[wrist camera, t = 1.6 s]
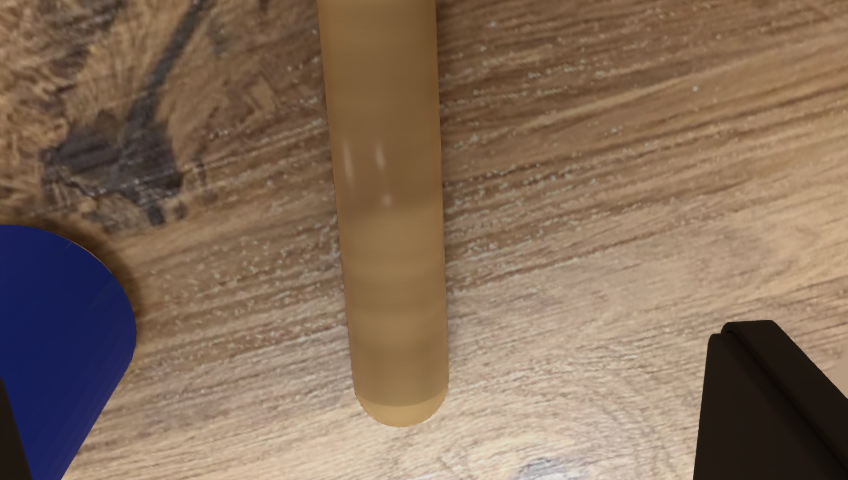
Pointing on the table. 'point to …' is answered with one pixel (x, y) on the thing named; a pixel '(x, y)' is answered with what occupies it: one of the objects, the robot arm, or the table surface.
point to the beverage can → (58, 342)
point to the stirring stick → (389, 200)
